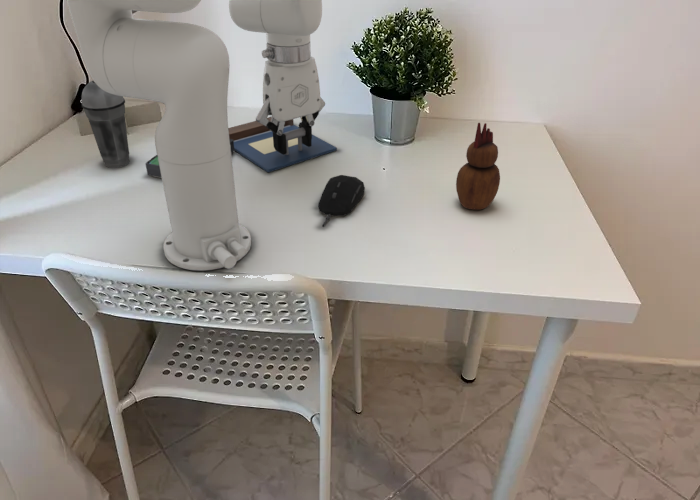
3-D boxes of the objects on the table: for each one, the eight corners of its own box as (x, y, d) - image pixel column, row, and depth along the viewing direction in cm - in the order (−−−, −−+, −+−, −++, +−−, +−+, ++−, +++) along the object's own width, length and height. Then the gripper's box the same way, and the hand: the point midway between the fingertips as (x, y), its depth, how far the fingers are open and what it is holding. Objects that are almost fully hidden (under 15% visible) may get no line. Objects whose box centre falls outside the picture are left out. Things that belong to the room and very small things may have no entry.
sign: (336, 150, 115) (336, 126, 112) (268, 172, 106) (266, 147, 104) (293, 126, 125) (292, 103, 122) (226, 145, 116) (223, 121, 113)
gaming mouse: (304, 223, 92) (303, 201, 90) (335, 182, 104) (335, 162, 101) (342, 230, 90) (342, 208, 88) (369, 188, 102) (370, 167, 100)
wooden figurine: (463, 216, 95) (475, 129, 86) (448, 199, 99) (459, 115, 91) (500, 211, 96) (516, 125, 88) (485, 194, 101) (498, 111, 92)
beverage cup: (143, 155, 112) (122, 49, 101) (127, 172, 106) (103, 61, 95) (107, 153, 112) (81, 47, 101) (89, 170, 106) (60, 59, 95)
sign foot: (293, 125, 125) (293, 116, 124) (223, 145, 116) (222, 136, 115) (285, 121, 127) (285, 112, 126) (216, 140, 118) (214, 131, 117)
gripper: (258, 66, 95) (266, 167, 105) (340, 48, 104) (340, 143, 114) (235, 55, 100) (244, 153, 110) (315, 39, 109) (317, 131, 119)
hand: (293, 147), depth 112 cm, fingers closed on sign, 5 cm apart
